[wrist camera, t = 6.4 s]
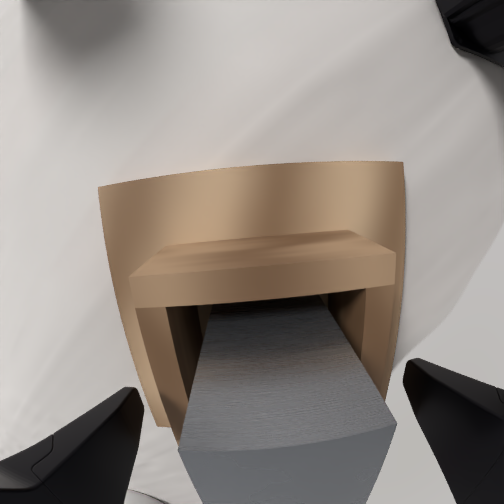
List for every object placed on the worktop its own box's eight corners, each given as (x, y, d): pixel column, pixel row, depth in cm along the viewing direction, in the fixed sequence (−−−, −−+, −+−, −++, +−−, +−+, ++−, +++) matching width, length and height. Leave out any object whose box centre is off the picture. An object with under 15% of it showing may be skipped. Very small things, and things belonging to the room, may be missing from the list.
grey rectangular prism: (307, 277, 13) (397, 423, 4) (308, 352, 14) (362, 509, 5) (217, 285, 13) (178, 450, 4) (228, 361, 14) (216, 527, 5)
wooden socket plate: (393, 162, 13) (464, 157, 8) (378, 395, 16) (412, 454, 11) (107, 186, 13) (38, 192, 7) (160, 416, 16) (140, 481, 11)
